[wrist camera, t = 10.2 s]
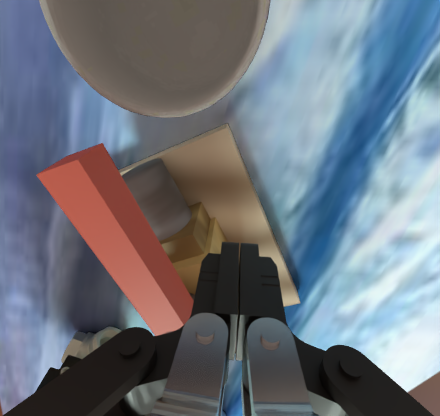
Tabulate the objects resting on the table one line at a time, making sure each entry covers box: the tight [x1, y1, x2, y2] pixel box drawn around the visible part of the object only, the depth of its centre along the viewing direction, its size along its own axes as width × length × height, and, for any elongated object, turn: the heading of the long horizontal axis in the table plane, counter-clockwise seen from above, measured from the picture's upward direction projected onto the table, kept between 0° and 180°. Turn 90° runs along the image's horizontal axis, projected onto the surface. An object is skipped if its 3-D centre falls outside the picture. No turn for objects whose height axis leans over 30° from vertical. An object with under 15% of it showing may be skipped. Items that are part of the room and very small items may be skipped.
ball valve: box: [36, 326, 121, 392], centre depth 31 cm, size 18×8×18 cm, turn 153°
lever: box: [37, 143, 194, 336], centre depth 17 cm, size 16×3×2 cm, turn 20°
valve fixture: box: [118, 123, 300, 353], centre depth 25 cm, size 21×15×9 cm
